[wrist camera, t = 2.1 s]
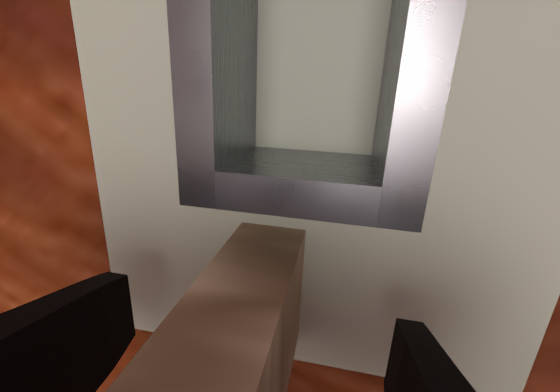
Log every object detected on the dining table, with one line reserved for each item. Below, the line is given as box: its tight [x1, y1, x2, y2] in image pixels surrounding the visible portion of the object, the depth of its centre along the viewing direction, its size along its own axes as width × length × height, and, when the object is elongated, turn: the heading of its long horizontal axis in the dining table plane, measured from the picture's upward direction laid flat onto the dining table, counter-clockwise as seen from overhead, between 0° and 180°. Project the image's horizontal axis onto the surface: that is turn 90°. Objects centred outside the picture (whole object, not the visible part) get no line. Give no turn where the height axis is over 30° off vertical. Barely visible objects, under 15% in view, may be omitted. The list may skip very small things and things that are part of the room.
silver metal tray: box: [166, 0, 467, 233], centre depth 7 cm, size 5×7×3 cm
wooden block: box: [106, 222, 306, 392], centre depth 7 cm, size 2×4×7 cm, turn 177°
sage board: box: [70, 0, 560, 392], centre depth 9 cm, size 14×14×1 cm
